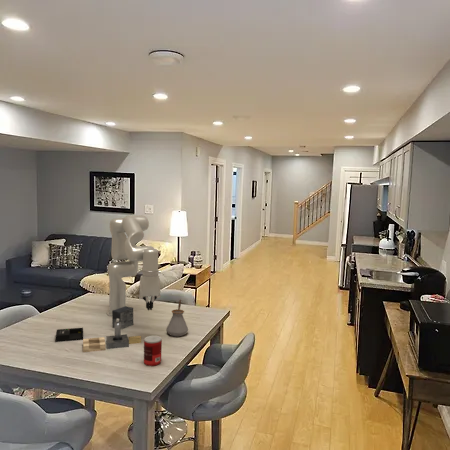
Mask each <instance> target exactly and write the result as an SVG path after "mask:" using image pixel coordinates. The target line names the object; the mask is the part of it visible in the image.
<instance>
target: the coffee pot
mask: <svg viewBox="0 0 450 450" xmlns="http://www.w3.org/2000/svg"><path fill="white" fill-rule="evenodd" d="M182 303H183V300H182V299H179V301H178V304H177V305H178V306H177V307H178V308H177V309H173V310H171V313H172V316H171V318H170V320H169V322H168V325H167V327H166V332H167V334H169V335H170V336H172V337H176V338H177V337H183V336H184V335H186V334H187V333H188V331H189V328H188V324H187V323H186V320H185V318H184V314H185V310H183V309H181V305H182Z"/></svg>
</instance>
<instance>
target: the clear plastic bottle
mask: <svg viewBox="0 0 450 450" xmlns="http://www.w3.org/2000/svg"><path fill="white" fill-rule="evenodd" d="M113 332H114V335H113V336H114V341H116V340H121V335H122V329H121V322H119V318H117V319H116V322H115V328H114V330H113Z"/></svg>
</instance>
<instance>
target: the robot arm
mask: <svg viewBox="0 0 450 450" xmlns="http://www.w3.org/2000/svg"><path fill="white" fill-rule="evenodd" d="M149 224H150V223H149V220H148V217H147V216H145V215H143V214H142V215H137V214H136V215H127V216H125V217H116V218H112V219H111V220H110V222H109V230H110V234H111V254H110V255H111V258H112V259H113V260H114V261H115V262H114V261H113V262H110V264H109V265H108V266H107V272H108V279H109V294H108V295H109V301H108V302H109V305H108V307H109V309H108V310H107V311H106V315H107V316H109V317H112V311H113V310H116V309H119V308H122V307H125V306H126V305H127V303H126V299H127V298H126V297H127V296H126V295H127V294H126V293H127V289H126V288H127V284H126V282H125V281H124V280H123V278H129V277H130V278H131V277H135V276H137V274H138V270H139V262H142V275H140V278H139V285H138V286H139V288H138V300H139V299H140V300H143V301H144V302H145V308H146V310H147V311H152V310H153V308H154V302H155V300H157V299H159V298H161V297H162V295H161V280H160V275H159V274H161V273H162V271H161V270H159V251H158V249H156V248H154V246H152V245H145V246H140V245H139V246H137V243H140V242H141V241H142V240H143V239H144V237H145V233H144V231H146V230H148V228H149V227H150V225H149ZM149 297H150V300H149Z"/></svg>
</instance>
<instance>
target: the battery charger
mask: <svg viewBox="0 0 450 450" xmlns="http://www.w3.org/2000/svg"><path fill="white" fill-rule="evenodd" d="M83 339H84V327H73V328H58V329H56V333H55V343H61V342H71V341H72V342H73V341H83Z"/></svg>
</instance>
